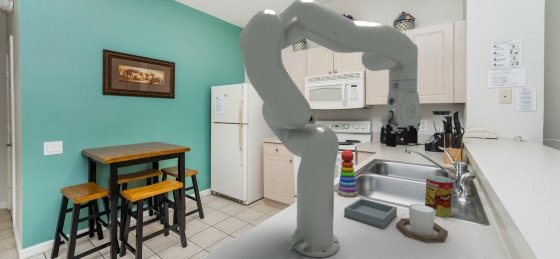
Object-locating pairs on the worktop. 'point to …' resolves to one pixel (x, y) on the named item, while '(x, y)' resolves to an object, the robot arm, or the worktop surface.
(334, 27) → the robot arm
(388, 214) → the tray
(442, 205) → the canned food
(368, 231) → the worktop surface
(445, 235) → the coaster ring
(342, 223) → the worktop surface
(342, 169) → the stacking toy
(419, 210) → the white cylinder
